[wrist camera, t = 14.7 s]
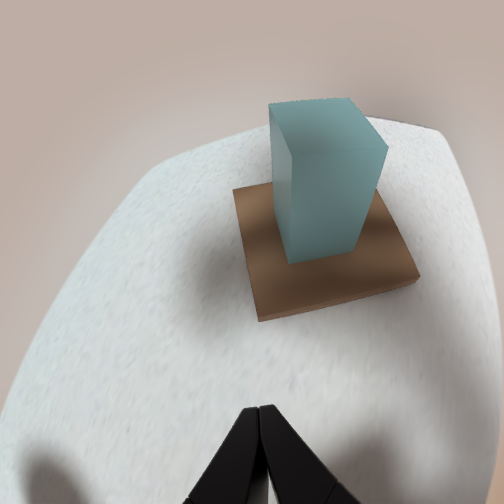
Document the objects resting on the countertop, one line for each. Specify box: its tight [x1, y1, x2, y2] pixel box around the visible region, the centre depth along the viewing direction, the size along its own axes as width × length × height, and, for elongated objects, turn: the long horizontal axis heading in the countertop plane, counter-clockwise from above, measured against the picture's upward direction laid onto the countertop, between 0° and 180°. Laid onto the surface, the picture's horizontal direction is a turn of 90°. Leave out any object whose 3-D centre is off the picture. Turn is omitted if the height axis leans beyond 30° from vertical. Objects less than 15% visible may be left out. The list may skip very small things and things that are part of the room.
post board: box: [233, 182, 420, 322], centre depth 24 cm, size 13×14×5 cm
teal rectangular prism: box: [269, 98, 389, 264], centre depth 20 cm, size 6×6×11 cm
